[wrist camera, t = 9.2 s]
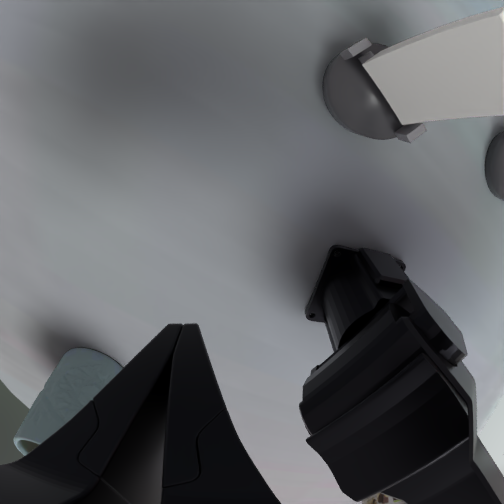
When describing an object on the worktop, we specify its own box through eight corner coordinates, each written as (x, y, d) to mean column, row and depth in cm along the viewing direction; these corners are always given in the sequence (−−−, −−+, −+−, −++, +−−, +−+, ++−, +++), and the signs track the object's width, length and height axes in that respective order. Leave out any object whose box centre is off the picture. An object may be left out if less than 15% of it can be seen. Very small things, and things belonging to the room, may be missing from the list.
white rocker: (395, 130, 16) (544, 121, 7) (349, 64, 14) (494, 7, 5) (411, 113, 16) (551, 100, 7) (369, 50, 14) (504, -2, 5)
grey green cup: (120, 343, 26) (77, 453, 15) (155, 407, 30) (134, 501, 20) (43, 341, 26) (-8, 426, 16) (82, 401, 31) (52, 480, 20)
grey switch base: (359, 154, 19) (380, 165, 16) (302, 77, 17) (314, 71, 13) (422, 108, 17) (451, 111, 14) (372, 32, 15) (395, 20, 12)
